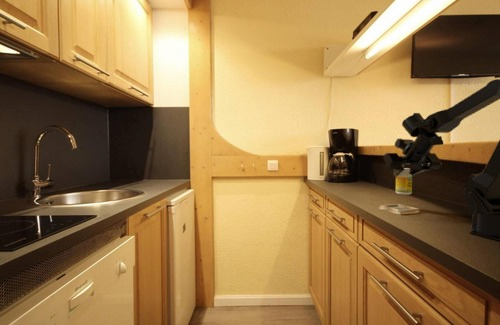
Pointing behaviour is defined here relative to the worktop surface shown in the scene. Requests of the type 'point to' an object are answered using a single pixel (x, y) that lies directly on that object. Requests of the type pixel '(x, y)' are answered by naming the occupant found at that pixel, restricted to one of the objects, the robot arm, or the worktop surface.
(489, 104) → the robot arm
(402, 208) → the tray
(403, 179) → the supplement bottle
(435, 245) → the worktop surface
